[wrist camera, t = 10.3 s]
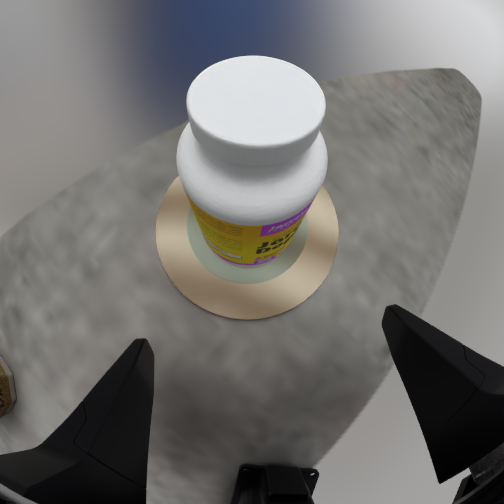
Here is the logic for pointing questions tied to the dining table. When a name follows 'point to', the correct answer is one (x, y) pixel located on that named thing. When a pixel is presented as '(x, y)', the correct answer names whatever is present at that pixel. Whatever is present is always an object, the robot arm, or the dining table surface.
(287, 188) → the supplement bottle
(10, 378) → the ceramic cup
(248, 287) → the round tan coaster
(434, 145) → the dining table surface
